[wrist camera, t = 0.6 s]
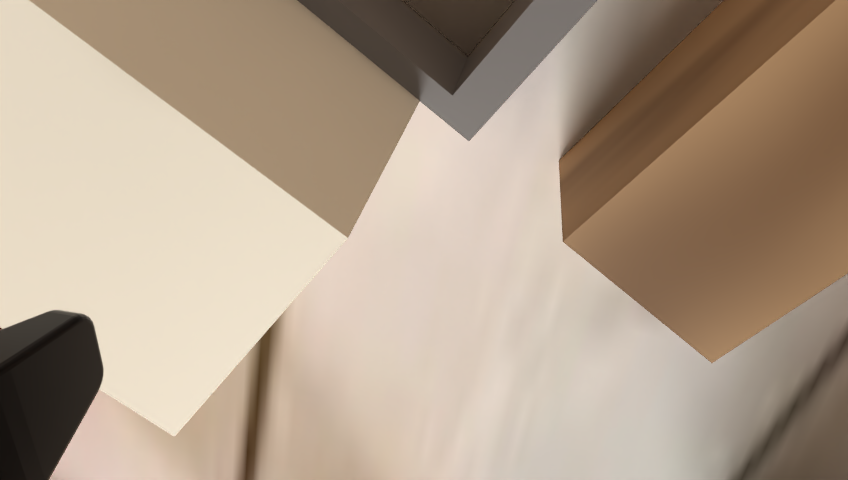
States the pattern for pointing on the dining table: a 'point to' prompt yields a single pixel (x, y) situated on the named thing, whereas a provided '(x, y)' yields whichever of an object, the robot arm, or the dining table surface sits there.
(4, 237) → the post bracket
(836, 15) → the brown wooden block
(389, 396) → the dining table surface
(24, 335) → the robot arm
